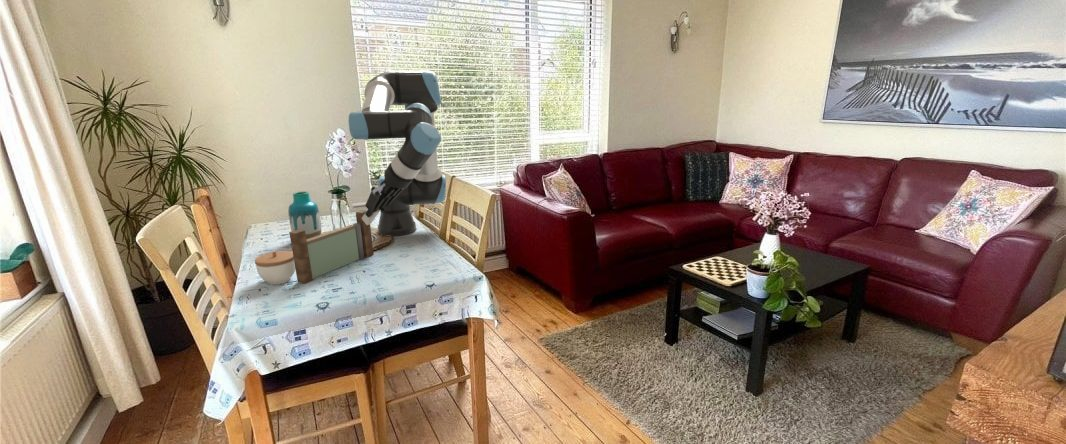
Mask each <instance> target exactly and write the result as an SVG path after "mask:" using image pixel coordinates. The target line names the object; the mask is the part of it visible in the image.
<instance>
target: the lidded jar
mask: <svg viewBox="0 0 1066 444" xmlns="http://www.w3.org/2000/svg"><path fill="white" fill-rule="evenodd" d="M254 264H255V268H256V270H257V273H258V275H259V277H260V278H261V279H262V280H263V281H264V282H266V283H267V284H268V285H272V286H273V285H281V284H285V283H287V282H289V281H290V280H291V278H292V277H293V276H294V274H295V273H296V269H295V263H294V258H293V252H292V251H290V250H289V251H288V250H279V251H276V250H273V251H272V252H269V253H264V254H262V255H259V256H257V257H255V259H254Z"/></svg>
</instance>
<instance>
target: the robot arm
mask: <svg viewBox="0 0 1066 444" xmlns="http://www.w3.org/2000/svg"><path fill="white" fill-rule="evenodd" d="M438 81H439V80H438V77H437V74H436V73H435V72H434V71H432V70H422V69H421V70H390V71H389V70H388V71H385V72H382V73H379V74H378V75H375V76H374V77H372V79H370V80H369V81H368V82H367V83H366V86H365V88H364V93H363V94H364V102H363V104H362V108H361V110H358V111H351V112H350V113H348V114H349V115H348V129H349V133H350V137H351V138H352V139H353V140H364V141H367V140H385V139H386V140H387V139H404V143H403V144H402V146H401V147H400V149H398V151H397V152H396V155H395V156H394V158H393V159H392V160H391V162H390V163H389V165H388V166H386V168H385V170H384V173H383V176H381V177H379V178H378V180H377V187H375V186H372V187H371V188H370V193H369V196H368V198H367V200H366V203H365V204H364V206H365V208H366V210H367V211H366V213H365V214H364V216H363V217H362V218H361V219H362V220H363V221H364V222H365V224H366V225H369V224H370V225H371V224H372V223H373V222H374V220H375V219H376V218H377V216H378V214H379V213H380V216H379V221H378V224H377V232H378V234H379V235H381V234H382V235H381V236H386V235H391V236H390V237H392V236H393V237H394V236H395V237H396V236H404V235H408V234H412V233H413V232H415V231H416V230H417V224H416V221H415V220H414V217H413V214H412V212H411V206H413V205H414V206H416V205H419V206H420V205H429V204H430V205H431V204H432V205H435V204H442V203H443V202H444V201H445V200H446V199H445V198H446V191H447V189H446V188H447V185H446V184H447V177H446V175H445V174H443V172H442V170H441V169H440V168H438V153H437V151H438V150H437V149H438V147H439V145H440V144H441V141H442V135H441V133H440V132H439V130H438V129H437V128H436V123H435V113H436V112H437V111H438V109H439V106H440V105H442V98H441V97H442V96H441V92H440V87H439V82H438ZM391 106H404V110H390V107H391Z"/></svg>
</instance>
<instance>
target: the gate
mask: <svg viewBox="0 0 1066 444" xmlns="http://www.w3.org/2000/svg"><path fill="white" fill-rule="evenodd" d="M306 240H307V246H308V253H309V259H310V265H311V271H312V278H313V279H315V278H317V277H320V276H321V275H325V274H326V273H330V272H331V271H333V270H334V271H335V269H338V268H341V267H344V266H346V265H348V264H350V263H353V262H355V261H358V260H359V259H364V258H365V257H364V249H363V241H362V233H361V225H360V223H357V222H355V223H352V224H349V225H347V226H343V227H340V228H336V229H334V230H330V231H327V232H325V233H321V235H319V236H316V237H312V238H309V239H306Z"/></svg>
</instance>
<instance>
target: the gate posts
mask: <svg viewBox="0 0 1066 444" xmlns="http://www.w3.org/2000/svg"><path fill="white" fill-rule="evenodd" d="M367 210H368V209H366V210H365V209H361V210H357V211H355V219H356V223H360V225H361V233H362V241H363V249H364V258H369V257H371V256H374V253H375V252H374V247H373V246H374V245H373V236H372V229H371V224H369V225H366V224H365V222H364V221H363V220H362V219H361V218H362V217H363V216H364V214H365V213H366V211H367ZM288 234H289V238H290V239H289V240H290V245H291V252H293V258H294V263H295V274H296V281H297V283H300V284H303V285H305V284H307V283H309V282H313V281H314V278H312V271H311V265H310V259H309V253H308V246H307V240H306V234H305V230H299V229H298V230H294V231H291V230H290V231H288Z"/></svg>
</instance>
